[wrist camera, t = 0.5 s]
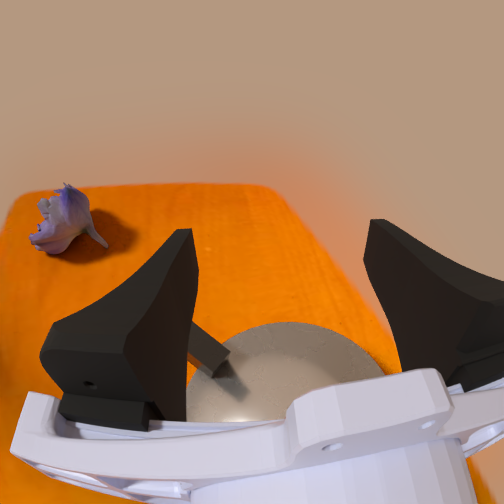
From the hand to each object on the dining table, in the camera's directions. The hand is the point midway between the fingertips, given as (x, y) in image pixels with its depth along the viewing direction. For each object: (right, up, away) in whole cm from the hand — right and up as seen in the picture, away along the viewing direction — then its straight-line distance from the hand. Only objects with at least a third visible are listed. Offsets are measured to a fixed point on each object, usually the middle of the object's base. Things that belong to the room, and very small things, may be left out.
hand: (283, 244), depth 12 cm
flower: (-23, +1, +22) cm, 32 cm away
